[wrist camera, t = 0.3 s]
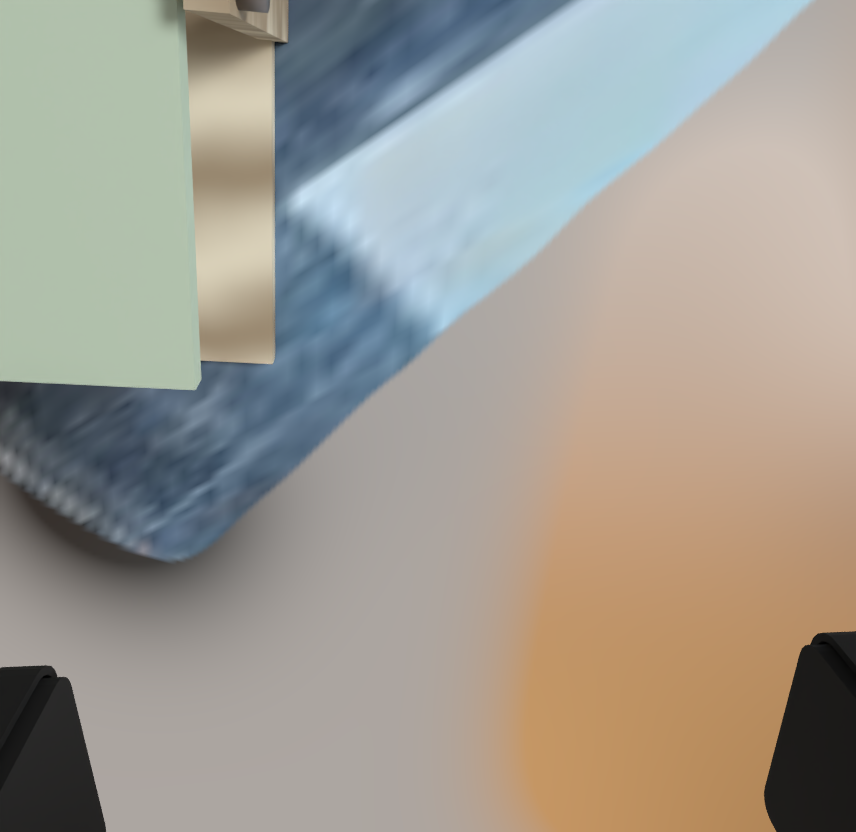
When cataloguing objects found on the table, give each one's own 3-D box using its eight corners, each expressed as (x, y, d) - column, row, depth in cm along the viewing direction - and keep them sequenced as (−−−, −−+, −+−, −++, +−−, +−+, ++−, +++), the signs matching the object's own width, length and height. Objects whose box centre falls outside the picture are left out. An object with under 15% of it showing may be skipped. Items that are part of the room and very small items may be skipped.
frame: (-113, -132, 30) (-517, -313, 17) (307, -87, 32) (257, -217, 18) (-32, 341, 38) (-259, 484, 24) (301, 359, 40) (264, 503, 26)
